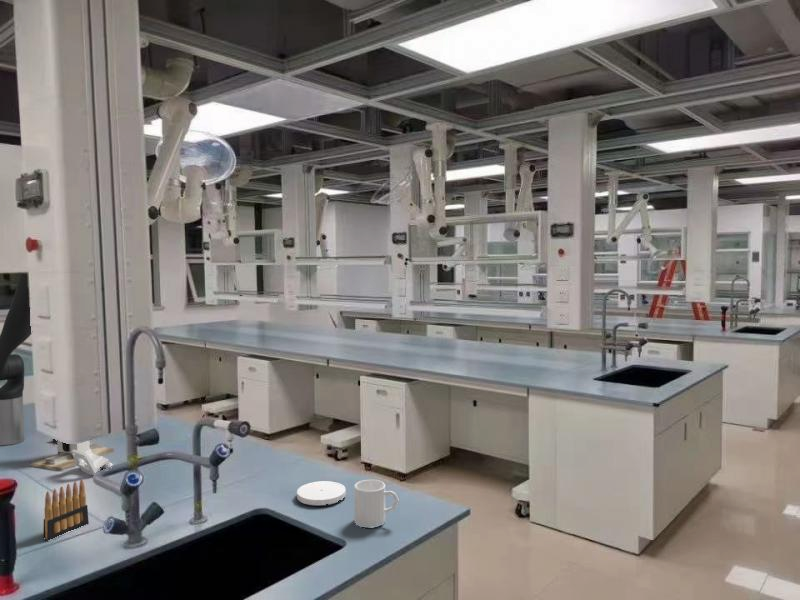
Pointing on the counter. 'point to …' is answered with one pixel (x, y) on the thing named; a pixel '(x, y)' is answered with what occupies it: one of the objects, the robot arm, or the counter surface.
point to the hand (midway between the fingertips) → (73, 448)
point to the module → (74, 447)
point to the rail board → (69, 462)
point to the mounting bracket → (90, 461)
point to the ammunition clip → (65, 511)
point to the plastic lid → (321, 493)
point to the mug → (371, 502)
